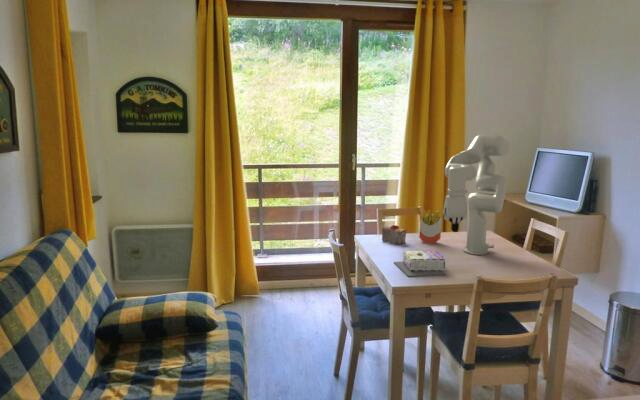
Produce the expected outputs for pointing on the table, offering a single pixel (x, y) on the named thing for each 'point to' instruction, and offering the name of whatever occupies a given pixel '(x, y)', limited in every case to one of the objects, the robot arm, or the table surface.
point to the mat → (416, 273)
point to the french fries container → (430, 227)
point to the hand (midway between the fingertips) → (454, 231)
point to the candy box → (423, 261)
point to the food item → (393, 234)
